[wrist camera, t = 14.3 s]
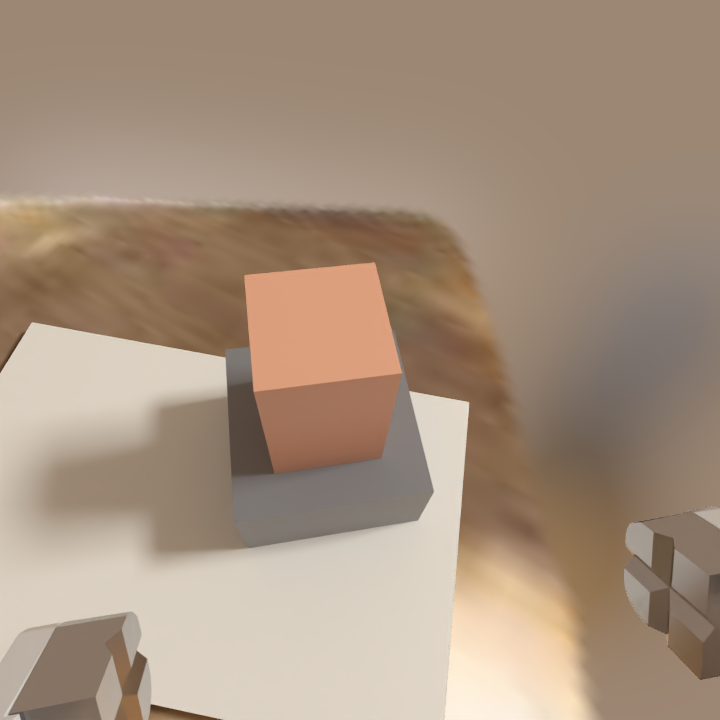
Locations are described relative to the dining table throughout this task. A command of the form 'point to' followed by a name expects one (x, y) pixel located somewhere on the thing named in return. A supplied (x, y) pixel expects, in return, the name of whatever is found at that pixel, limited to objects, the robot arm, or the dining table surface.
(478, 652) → the dining table surface
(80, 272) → the dining table surface
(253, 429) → the foundation block
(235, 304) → the dining table surface
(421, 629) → the baseplate
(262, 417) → the pillar block
